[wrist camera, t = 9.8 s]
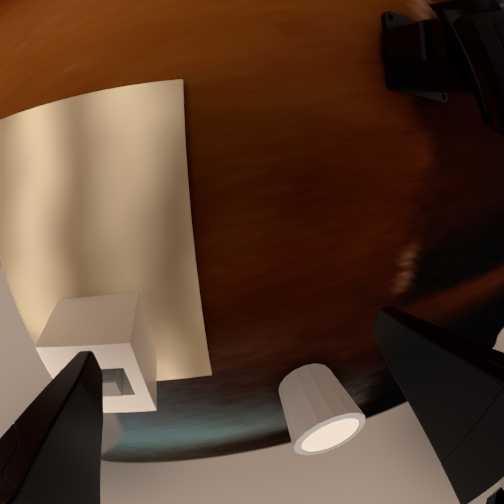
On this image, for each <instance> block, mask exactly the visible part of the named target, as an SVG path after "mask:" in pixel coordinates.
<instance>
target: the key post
mask: <svg viewBox="0 0 504 504" xmlns="http://www.w3.org/2000/svg"><path fill="white" fill-rule="evenodd" d="M101 370H102V375H103V396H122V391H123V382H124V373H125V370H124V368H114V369H101Z"/></svg>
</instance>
